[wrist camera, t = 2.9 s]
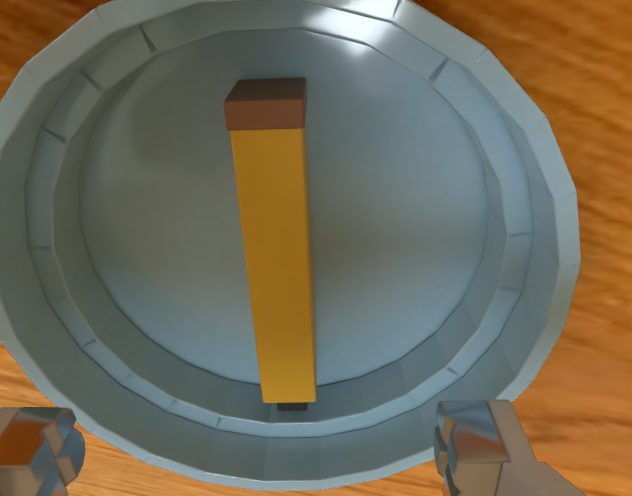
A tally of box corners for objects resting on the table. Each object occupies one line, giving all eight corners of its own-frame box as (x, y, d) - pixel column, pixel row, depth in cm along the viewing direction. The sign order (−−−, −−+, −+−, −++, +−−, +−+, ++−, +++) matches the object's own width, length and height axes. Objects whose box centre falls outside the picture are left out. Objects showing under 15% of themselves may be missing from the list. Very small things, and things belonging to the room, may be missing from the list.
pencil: (237, 79, 16) (223, 101, 13) (305, 77, 16) (303, 98, 13) (269, 378, 22) (263, 428, 19) (319, 377, 22) (318, 428, 19)
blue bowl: (34, -107, 14) (-80, -132, 10) (616, 46, 16) (715, 76, 12) (51, 363, 22) (-7, 451, 18) (429, 428, 24) (450, 520, 20)
